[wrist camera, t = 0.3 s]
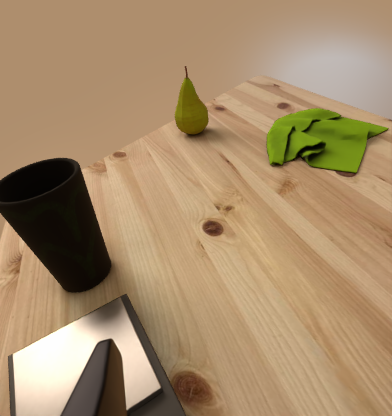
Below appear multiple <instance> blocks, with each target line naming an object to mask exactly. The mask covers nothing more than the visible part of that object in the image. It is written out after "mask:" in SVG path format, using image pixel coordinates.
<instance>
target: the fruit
mask: <svg viewBox="0 0 392 416" xmlns="http://www.w3.org/2000/svg"><path fill="white" fill-rule="evenodd" d="M185 70H186V78H185V79H184V82H183V83H182V86H181V90H180V94H179V99H178V104H177V107H176V111H175V120H176V124H177V127H178V128H179V129H180V130H181V131H182V132H184V133H187V134H198V133H200V132H202V131H203V130H204V128H205V127H206V126H207V124H208V110H207V108H206V106H205V105H204V104H203V103H202V101H201V100H200V99H199V97H198V95H197V94H196V92H195V88H194V86H193V84H192V82H191V81H190V79H189V78H188V76H187V68H186V66H185Z"/></svg>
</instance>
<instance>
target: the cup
mask: <svg viewBox="0 0 392 416" xmlns="http://www.w3.org/2000/svg"><path fill="white" fill-rule="evenodd" d="M0 213H1V214H2V216H3V217H4V218H5V219H6V220H7V222H8V223H9V224H10V225H11V226H12V227H13V229H14V230H15V231H16V232H17V233H18V235H19V236H20V237H21V238H22V239H23V241H24V242H25V243H26V244H27V245H28V247H29V248H30V249H31V250H32V251H33V252H34V254H35V255H36V256H37V257H38V258H39V260H40V261H41V262H42V263H43V264H44V266H45V267H46V268H47V269H48V270H49V272H50V273H51V274H52V275H53V276H54V278H55V279H56V280H57V281H58V282H59V283H60V285H61V286H62V287H63V288H64V289H65V290H67V291H69V292H82V291H86V290H89V289H91V288H93V287H95V286H96V285H98V284H99V283H100V282H102V281H103V280H104V279H105V278H106V276H107V275H108V273H109V271H110V269H111V261H110V258H109V255H108V252H107V248H106V245H105V242H104V239H103V236H102V233H101V230H100V227H99V224H98V221H97V218H96V214H95V211H94V208H93V205H92V202H91V199H90V196H89V193H88V190H87V187H86V184H85V180H84V177H83V174H82V171H81V168H80V165H79V164H78V162H76V161H75V160H72V159H68V158H54V159H48V160H43V161H40V162H36V163H33V164H30V165H27V166H25V167H22V168H20V169H18V170H16V171H15V172H12V173H11V174H9V175H7V176H6V177H4V178H3V179H2V180H0Z"/></svg>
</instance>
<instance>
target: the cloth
mask: <svg viewBox="0 0 392 416" xmlns="http://www.w3.org/2000/svg"><path fill="white" fill-rule="evenodd" d="M340 116H341V115H340V114H338V113H336V112H332V111H330V110H324V109H318V108H316V109H308V110H304V111H299V112H297V113H294V114H289V115H286V116H284V117H281V118H279V119H278V120H276V121H275V123H274V124H273V126H272V128H271V129H270V131H269V132H268V135H267V153H268V156H269V161H270V165H273V164H281V165H282V164H283V162H287V161H291V160H292V159H294V158H296V155H297V153H298V154H299V155H300V156H301V157H302V158H303V159H305V161H306V162H307V163H308V164H309V165H311V166H313V167H318V168H324V169H330V170H337V171H344V172H352V173H357V170H358V168H359V165H360V162H361V160H362V157H363V154H364V151H365V147H366V142H367V139H368V138H370V137H372V136H375V135H377V134H380V133H382V132H384V131H386V130H388V129H389V128H386V127H382V126H378V125H374V124H371V123H366V122H362V121H358V120H353V119H349V118H344V117H340Z"/></svg>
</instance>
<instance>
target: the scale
mask: <svg viewBox="0 0 392 416" xmlns="http://www.w3.org/2000/svg"><path fill="white" fill-rule="evenodd" d="M109 338H111V339H113V340H114V342H115V344H116V345H117V347H118V349H119V351H120V353H121V355H122V360H123V372H124V384H125V396H126V408H127V416H186V414H185V412H184V410H183V408H182V406H181V404H180V402H179V400H178V398H177V396H176V394H175V392H174V390H173V388H172V386H171V384H170V381H169V379H168V377H167V375H166V373H165V371H164V369H163V367H162V365H161V363H160V361H159V359H158V357H157V355H156V353H155V351H154V349H153V347H152V345H151V343H150V341H149V339H148V337H147V335H146V333H145V331H144V328H143V326H142V324H141V322H140V320H139V318H138V316H137V314H136V312H135V310H134V308H133V306H132V304H131V302H130V300H129V298H128V296H127V294H124V295H122V296H120V297H119V298H117V299H115V300H113V301H111V302H109V303H107V304H105V305H104V306H102V307H100V308H98V309H96V310H94V311H92V312H90V313H89V314H87V315H85V316H83V317H81V318H79V319H77V320H75V321H74V322H72V323H70V324H68V325H66V326H64V327H62V328H60V329H59V330H57V331H55V332H53V333H51V334H49V335H47V336H45V337H44V338H42V339H40V340H38V341H36V342H34V343H32V344H30V345H29V346H27V347H25V348H23V349H21V350H19V351H17V352H15V353H13V354H12V355H10V356H8V367H9V391H10V415H11V416H60V415H61V413H62V411H63V409H64V407H65V405H66V403H67V401H68V399H69V397H70V395H71V393H72V391H73V389H74V387H75V385H76V383H77V381H78V379H79V377H80V375H81V373H82V371H83V369H84V367H85V365H86V363H87V362H88V360H89V358H90V356H91V354H92V352H93V350H94V348H95V346H96V344H97V343H98V342H99V341H102V340H105V339H109Z"/></svg>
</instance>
